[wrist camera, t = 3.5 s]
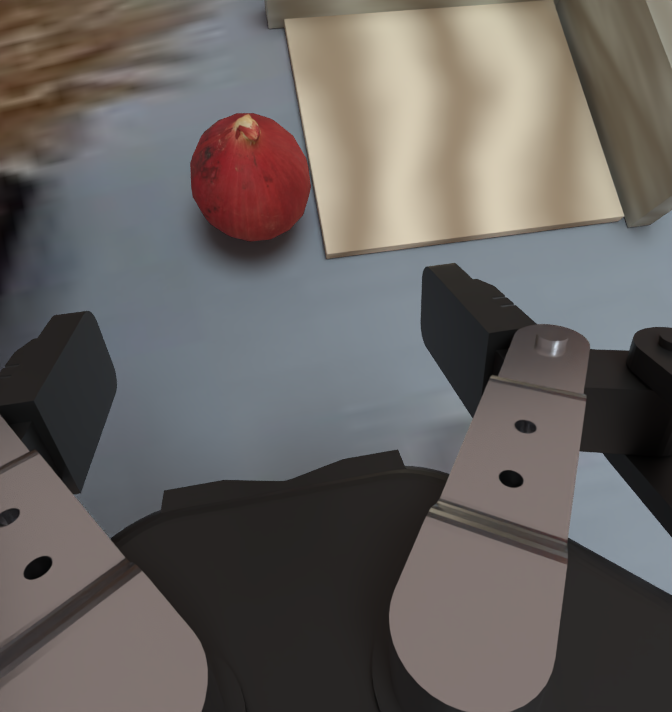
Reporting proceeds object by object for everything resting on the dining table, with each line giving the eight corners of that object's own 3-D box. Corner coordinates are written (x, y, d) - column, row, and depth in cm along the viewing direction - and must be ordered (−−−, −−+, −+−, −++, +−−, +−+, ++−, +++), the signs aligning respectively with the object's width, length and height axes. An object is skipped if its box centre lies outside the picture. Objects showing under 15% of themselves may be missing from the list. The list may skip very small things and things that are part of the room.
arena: (310, 269, 27) (314, 214, 21) (265, 9, 31) (257, -97, 25) (650, 224, 30) (736, 164, 24) (569, -12, 33) (627, -114, 28)
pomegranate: (209, 269, 27) (172, 187, 19) (202, 177, 28) (165, 64, 20) (313, 260, 27) (320, 178, 20) (302, 170, 29) (304, 58, 21)
